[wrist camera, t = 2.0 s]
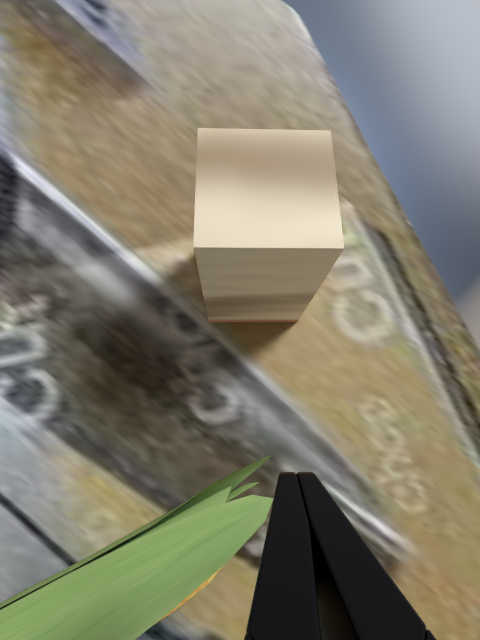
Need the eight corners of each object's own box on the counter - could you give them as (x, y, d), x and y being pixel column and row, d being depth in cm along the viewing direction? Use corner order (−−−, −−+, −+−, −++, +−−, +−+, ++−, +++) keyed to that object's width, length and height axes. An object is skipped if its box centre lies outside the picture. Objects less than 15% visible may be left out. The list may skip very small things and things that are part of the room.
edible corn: (-165, 685, 14) (-184, 860, 11) (267, 435, 18) (319, 526, 15) (-60, 651, 18) (-58, 772, 16) (268, 456, 22) (309, 530, 20)
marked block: (296, 322, 23) (344, 248, 14) (208, 322, 23) (193, 247, 13) (292, 244, 25) (330, 130, 15) (210, 243, 25) (198, 128, 15)
